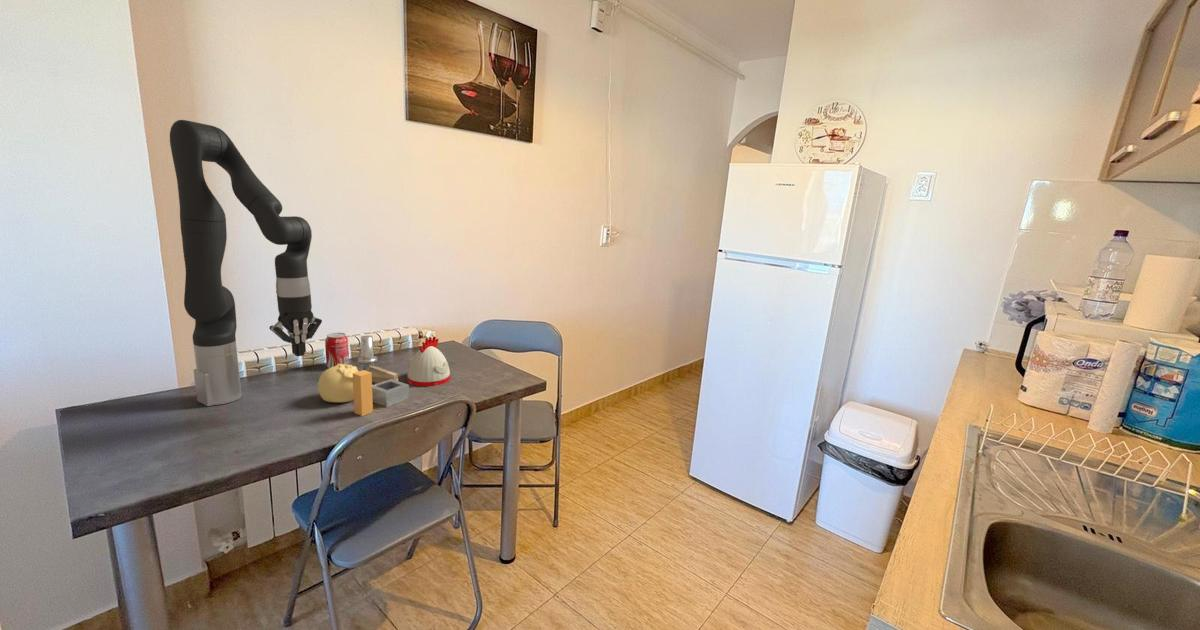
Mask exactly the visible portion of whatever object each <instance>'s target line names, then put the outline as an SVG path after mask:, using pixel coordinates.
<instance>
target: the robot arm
mask: <svg viewBox="0 0 1200 630" xmlns="http://www.w3.org/2000/svg"><path fill="white" fill-rule="evenodd" d="M169 145H170V151H171V156H172V160H173V167H174V171H175V176H176V183H177V192H178V202H179V223H180V233H181V240H182V241H181V242H182V253H183V259H184V268H185V281H184V295H183V296H184V298H183V306H184V309H185V311H186V313H187V314H188V316H189V317H190V318H192V319H193V320H194V321H195V323H194V330H193V333H192V344H193V351H194V352H193V353H194V359H195V367H196V368H195V369H193V378H194V384H195V385H194V386H195V393H196V394H195V395H196V400H197V402H198V403H201V404H203V405H204V406H207V407H210V406H218V405H224V404H229V403H232V402H235V401H237V400H240V399H241V398H242V384H241V376H240V367H239V358H238V348H237V339H236V333H237V313H236V312H237V311H236V310H237V309H236V303H235V298H234V296H233V293H232V292H231V291H230V290H229V288H227V287H226V286H224V285H223V281H222V265H223V262H224V261H223V260H224V256H225V252H226V245H227V240H228V239H227V237H228V235H227V233H228V232H227V217H226V214H225V210H224V209H223V207H222V205H221V204H220V202H219V201H218V200H217V198H216V197H215V195H214V194H213V193H212V191H211V189H210V188H209V186H208V183H207V182H206V180H205V179H206V178H205V174H204V168H203V162H209V163H215V164H216V165H218V166H219V167H221V168H222V169H223V170H224V171H225V172H226V173H227V174H228V175H229V177H230V182H231V183H230V184H231V189H232V191H233V194H234V196H235V197H236V198H237V200H238V201H239V202H240V203H241V204H242V205H243V207H245V209H246V210H247V211H249V213H250V214H251V215H252V216H253V217H254V219H255V222H256V224H257V226H258V228H259V229H260V231H261V234H262V235H263V236H264V238H265V239H266V240H268V241H269V242H271V243H272V244H274V245H279V246H282V245H283V246H284V245H285V246H286V249H285V251H283V252H281V253H278V254H277V255H276V256H275V257H274V269H275V293H276V300H277V309H278V315H279V316H278V318H277V322H276V323H275V324H273V325H272V324H271V325H269V328H268V329H269V330H270V331H272V333H274V335H276V336H277V337H278V338H279V339H280V340H282V341H283V342H286V343H289V344H291V351H292V352H291V353H292V354H293V355H295V356H296V357H302V356H305V353H306V352H307V347H306V346H307V345H306V341H307V340H308V339H313V338H314V336H315V333H317V330H319V328H320V326H321V324H322V323H323V320H322V319H321V318H318V317H316V316H315V315H314V313H313V311H312V307H313V306H312V294H311V284H310V279H309V272H308V257H309V254H310V249H311V243H312V236H313V232H312V229H311V225H310V224H309V222H308V220H306V219H305V218H303V217H301V216H297V215H296V216H280V215H281V213H282V211H283V205H282V203H281V201H280V200H279V198H278V197H276V196H275V195H274V194H273V193H272V192H271V190H270V189H269V188H268V187H267V186H266V185H265V184H264V183H263V182H262V181H261V180H260V179H259V178H258V176H257V175H256V174H255V173H254V171H253V170H252V169H251V167H250V165H249V164H248V163H247V161H246V160H245V157H243V155H242V153H241V152H240V151H239V149H238V148H237V146H236V145H235V144H234V142H233V141H232V139H231V137H229V136H228V134H227V133H226V132H225V131H224V130H222V129H221V128H220V127H217V126H214V125H211V124H206V123H200V122H196V121H192V120H187V119H178V120H176V121H174V123H173V124H172V125H171V127H170V131H169ZM284 329H285V330H287V331H286V332H287V333H286V332H285V331H284Z"/></svg>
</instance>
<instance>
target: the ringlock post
mask: <svg viewBox="0 0 1200 630" xmlns="http://www.w3.org/2000/svg"><path fill="white" fill-rule="evenodd" d="M373 340H374V338H373V335H362V336H360V350H361V351H360V354H361V356H359V357H358V358H357V363H358V364H361V371H362V370H365V371H368V372H370V369H369V367H370V366H375V363H377V362H378V356H376V355H374V341H373Z"/></svg>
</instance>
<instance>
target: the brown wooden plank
mask: <svg viewBox="0 0 1200 630" xmlns="http://www.w3.org/2000/svg"><path fill="white" fill-rule="evenodd" d="M369 369H370V372H371V373H372V383H374V384H377V383H380V382H383V381H386V380H389V379H393V380H396V381H399V373H396V372H394V371H392V370H391V371H390V370H388V369H384V368H382V367H378V366H375V365H374V366H370V367H369Z"/></svg>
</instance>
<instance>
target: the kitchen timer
mask: <svg viewBox="0 0 1200 630" xmlns="http://www.w3.org/2000/svg"><path fill="white" fill-rule="evenodd" d="M439 339H440V338H436V336H434V335H433V336H432V337H430V336H429V337H425V342H423V341H422V342H421V345H422V346H418V349H419V350H418V351H416V353H415V354H414V355H413V356H412V358H410V359H409V367H408V369H407V375H406V376H407V377H406V378H407V379H406V380H407V384H408V383H409V385H412V386H416V387H437V386H441V385H443V384H446V383H448V382H449V381H450V379H451V370H450V367H449V362H448V361H447V359H446V357H445V355H444V354H443V352H441V350H440V349H438V348H437V346H438V344H439Z"/></svg>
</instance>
